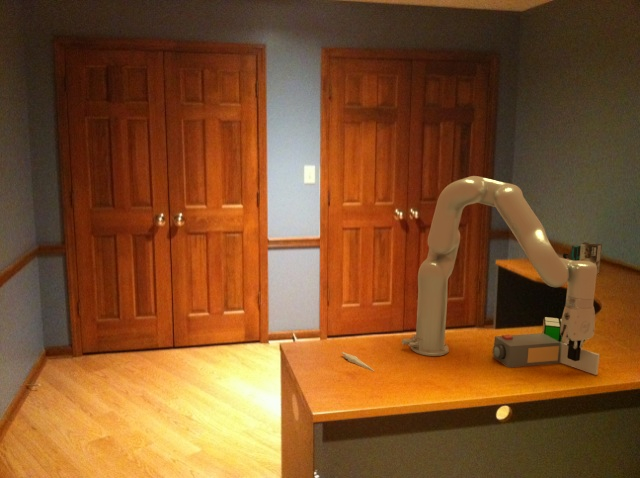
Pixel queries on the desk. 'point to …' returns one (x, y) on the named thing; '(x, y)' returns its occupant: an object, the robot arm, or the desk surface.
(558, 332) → the puzzle cube
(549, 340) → the camera box
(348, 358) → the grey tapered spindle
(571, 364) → the side door
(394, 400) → the desk surface
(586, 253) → the coffee box
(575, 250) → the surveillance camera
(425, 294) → the robot arm
